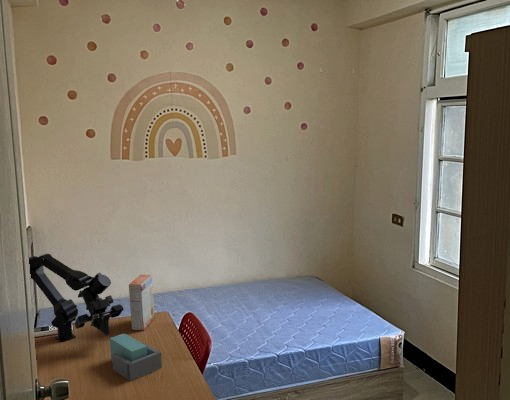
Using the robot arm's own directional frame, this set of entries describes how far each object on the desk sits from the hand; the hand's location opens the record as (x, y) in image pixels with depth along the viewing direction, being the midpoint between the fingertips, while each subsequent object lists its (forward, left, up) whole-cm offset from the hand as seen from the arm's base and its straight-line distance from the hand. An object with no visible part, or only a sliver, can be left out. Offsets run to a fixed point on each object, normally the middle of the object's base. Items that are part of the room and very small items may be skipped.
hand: (107, 334), depth 193 cm
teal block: (+15, 0, -7) cm, 17 cm away
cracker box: (-13, +24, -7) cm, 28 cm away
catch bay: (+20, 0, -7) cm, 21 cm away
